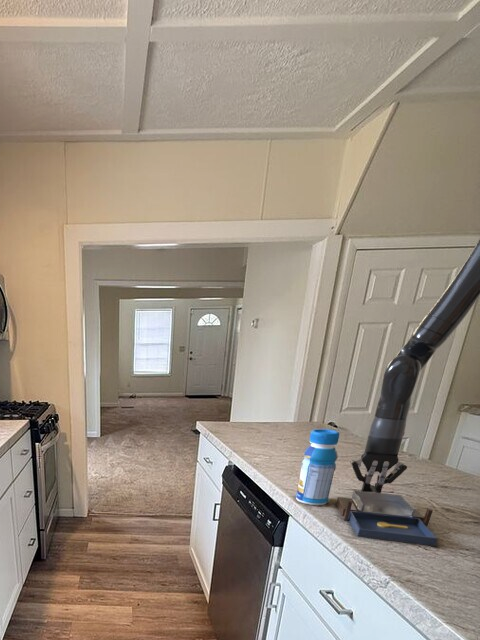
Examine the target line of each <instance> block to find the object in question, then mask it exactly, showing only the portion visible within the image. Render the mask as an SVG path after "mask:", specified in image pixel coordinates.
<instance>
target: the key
mask: <svg viewBox="0 0 480 640" xmlns="http://www.w3.org/2000/svg"><path fill="white" fill-rule="evenodd" d="M377 525H378V526H380V527H384V528H389V527H394V528H403V529H408V527H407V526H402V525H393V524H388V523H385V522H378V523H377Z"/></svg>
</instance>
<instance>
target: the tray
mask: <svg viewBox="0 0 480 640" xmlns="http://www.w3.org/2000/svg"><path fill="white" fill-rule="evenodd" d="M348 521H349V524H350V525H351V527H352V528H353V531H354V533H355V534H356V536H357V537H361V538H368V539H376V540H385V541H392V542H400V543H407V544H415V545H422V546H423V545H424V546H431V547H436V546H437V543H438V540H439V538H438V537H437V536H436V535H435V533H434V532H433V531H431V529H430V528H429V527H427V526H426V525H425V524H424V523H423V522H422V521H421V520H420V519H419V518H413V519H412V518H403V517H394V516H385V515H375V514H366V513H360V512H357V511H350V514H349V518H348ZM378 522H385V523H388V524H393V525H402V526H407V527H408V529H403V528H394V527H389V528H384V527H380V526H378V525H377V523H378Z"/></svg>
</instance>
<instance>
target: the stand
mask: <svg viewBox="0 0 480 640" xmlns="http://www.w3.org/2000/svg"><path fill="white" fill-rule="evenodd" d="M335 503H336V506H337V509H338V510H339V513H340V514H341V517H343V518H342V519H343V521H345V522H348V521H349V519H348V518H349V514H350V511H357V512H360V511H359V510H358V508H357V507H356V505H355V504H354V502H353V500H352V497H340V496H337V497H336V502H335ZM410 504H411V503H410ZM411 505H412V506H413V507H414V508H415V512H414V516H413V518H419V519H420V520H421V521H422V522H423V523H424V524H425V525H426V526H427V527H428V526H429V523H430V521H431V518H432V514H433V511H434V510H433V509H432V508H428V507H427V509H426V511H425V515H424V516H423V515H422V514H421V512H420V511H419V510H418V509H417V508H416V507H415V506H414V505H413V504H411ZM428 528H429V527H428Z"/></svg>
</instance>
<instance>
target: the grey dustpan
mask: <svg viewBox="0 0 480 640" xmlns="http://www.w3.org/2000/svg"><path fill="white" fill-rule="evenodd" d="M351 498H352V500H353V502H354V504H355V505H356V507H357V508H358V510H359V511H360V513H366V514H375V515H385V516H394V517H403V518H412V519H413V516H414V512H415V509H416V507H415V506H414V505H413V504H412V505H413V506H414V507H415V508H414V507H413V506H412V505H411V503H410V502H409V501H408V500H407V499H406V498H405V497H404V496H403V495H402V494H395V493H385V492H381V493H380V492H379V491H378V490H377V488H376V487H375V484H371V485H370V489H369V492H365V491H361V490H353V491H352V495H351Z"/></svg>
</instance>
